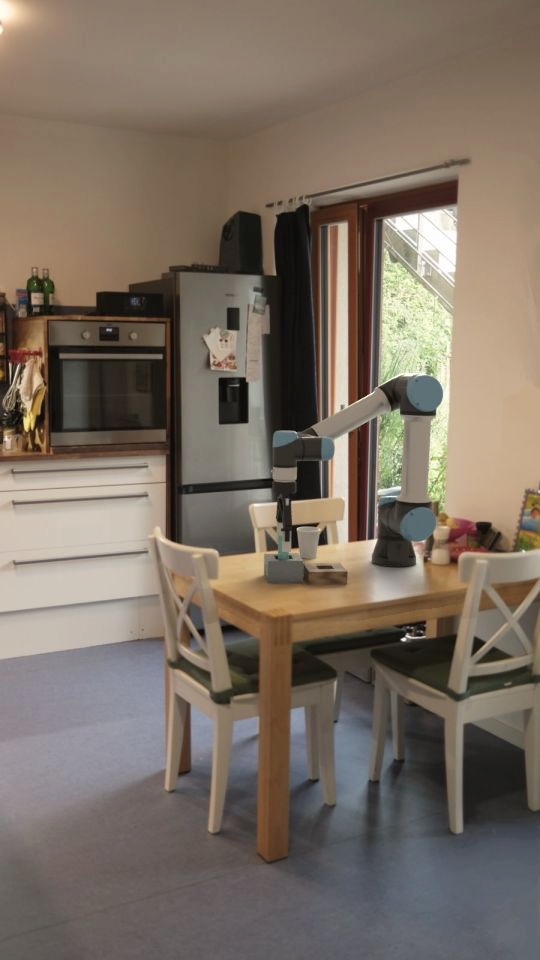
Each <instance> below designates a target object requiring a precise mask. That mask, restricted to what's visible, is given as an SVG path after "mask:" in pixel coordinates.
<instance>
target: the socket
mask: <svg viewBox="0 0 540 960" xmlns="http://www.w3.org/2000/svg"><path fill="white" fill-rule="evenodd" d="M303 563H304V559H303V558H301V557H300V553H299V552H297V553H296V552H294V553H292V552H289V559H278V553H264V554H263V576H264V578H265V580H266V582H267V584H299V583H300V584H302V583H304V576H303Z"/></svg>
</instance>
